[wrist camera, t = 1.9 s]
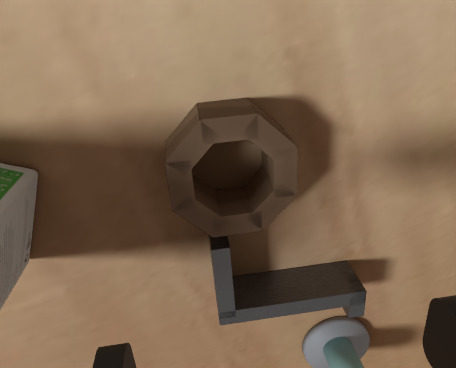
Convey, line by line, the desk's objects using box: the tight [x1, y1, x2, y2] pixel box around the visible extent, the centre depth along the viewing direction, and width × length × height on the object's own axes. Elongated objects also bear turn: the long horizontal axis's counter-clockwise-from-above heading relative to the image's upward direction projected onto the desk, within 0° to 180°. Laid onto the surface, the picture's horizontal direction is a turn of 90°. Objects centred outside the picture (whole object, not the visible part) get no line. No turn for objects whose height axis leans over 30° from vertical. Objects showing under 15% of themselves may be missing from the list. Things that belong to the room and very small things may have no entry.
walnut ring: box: [165, 98, 298, 237], centre depth 20 cm, size 6×6×3 cm
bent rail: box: [209, 235, 366, 325], centre depth 24 cm, size 6×9×3 cm
